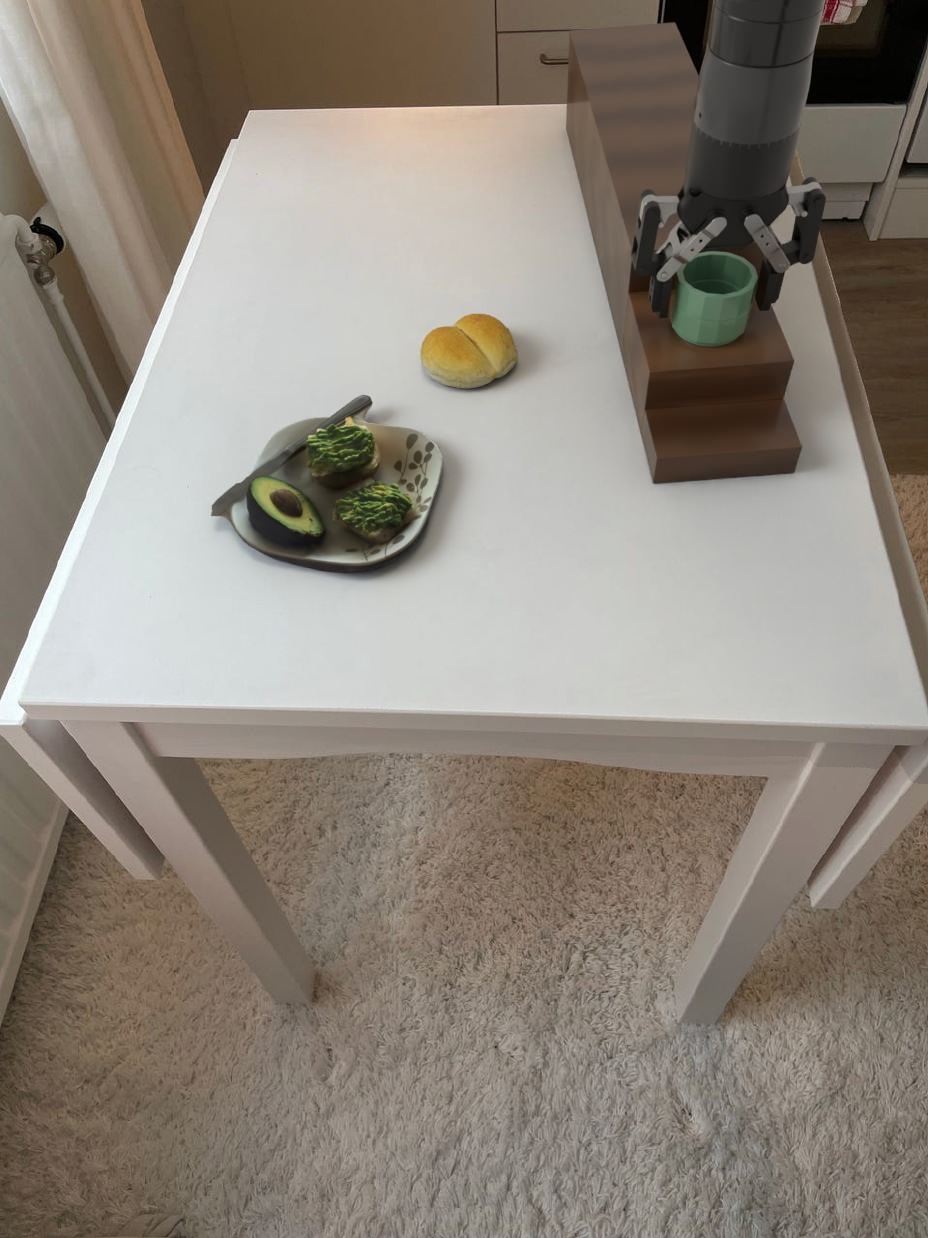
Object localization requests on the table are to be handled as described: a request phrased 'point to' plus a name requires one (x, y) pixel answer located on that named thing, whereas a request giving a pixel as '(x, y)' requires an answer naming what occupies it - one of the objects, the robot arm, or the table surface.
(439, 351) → the bread roll
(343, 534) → the salad plate
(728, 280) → the cup
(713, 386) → the wooden stair steps
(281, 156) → the table surface
